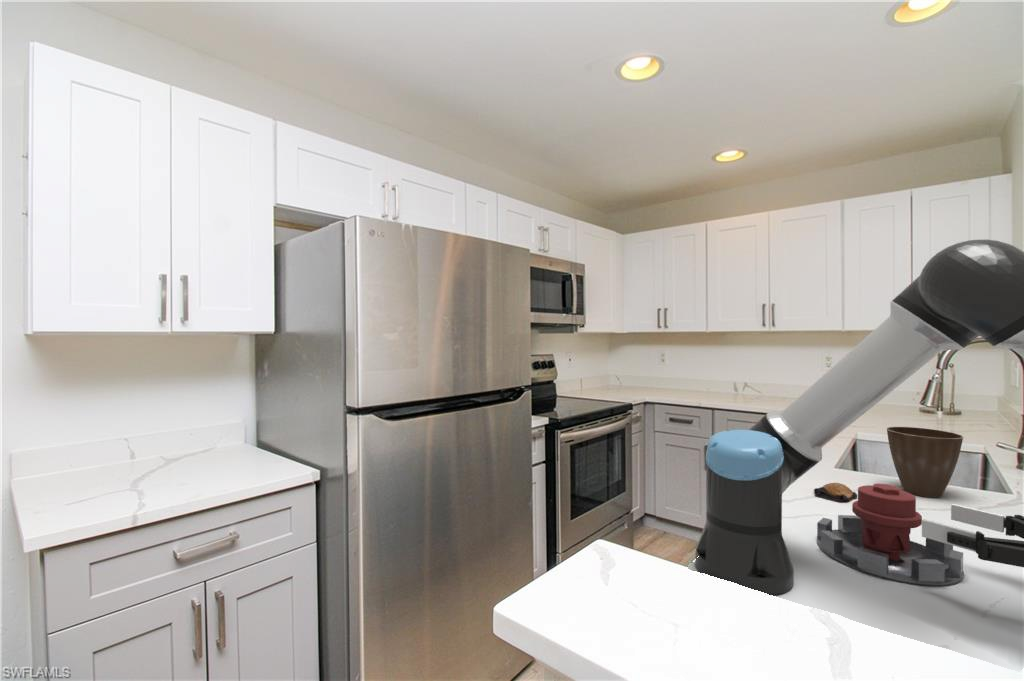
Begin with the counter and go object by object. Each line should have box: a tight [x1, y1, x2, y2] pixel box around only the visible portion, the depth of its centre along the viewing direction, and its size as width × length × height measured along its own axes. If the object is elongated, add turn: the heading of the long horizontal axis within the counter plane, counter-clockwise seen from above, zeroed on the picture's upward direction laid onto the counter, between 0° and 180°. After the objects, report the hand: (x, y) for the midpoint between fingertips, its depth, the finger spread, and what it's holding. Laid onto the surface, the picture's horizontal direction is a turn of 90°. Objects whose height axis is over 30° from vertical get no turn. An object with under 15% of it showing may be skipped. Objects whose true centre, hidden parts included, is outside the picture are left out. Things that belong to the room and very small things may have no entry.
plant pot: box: [886, 426, 964, 499], centre depth 122 cm, size 15×15×16 cm
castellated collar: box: [816, 514, 965, 587], centre depth 86 cm, size 21×21×4 cm
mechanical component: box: [851, 483, 923, 561], centre depth 86 cm, size 12×10×10 cm
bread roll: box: [813, 482, 858, 504], centre depth 119 cm, size 11×8×4 cm
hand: (937, 519), depth 80 cm, fingers open, 13 cm apart
